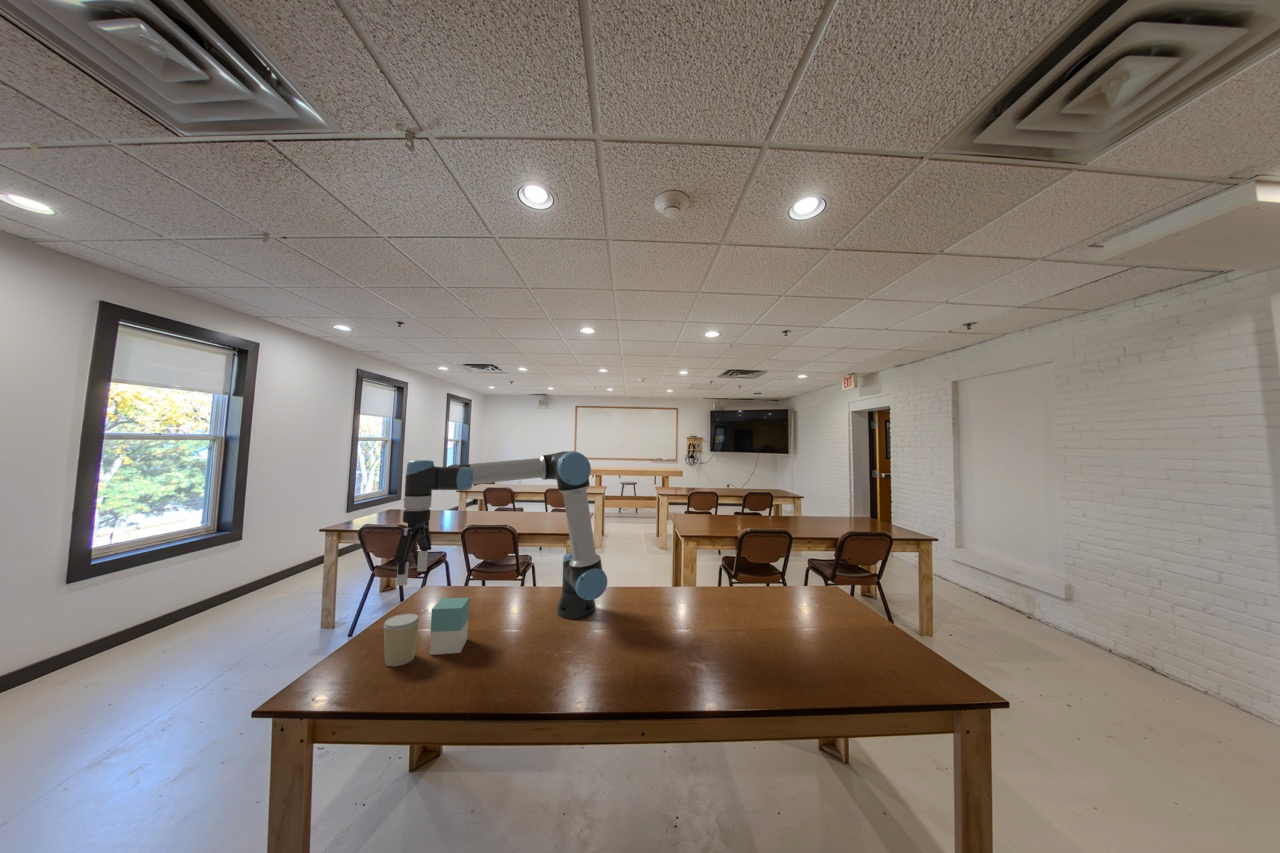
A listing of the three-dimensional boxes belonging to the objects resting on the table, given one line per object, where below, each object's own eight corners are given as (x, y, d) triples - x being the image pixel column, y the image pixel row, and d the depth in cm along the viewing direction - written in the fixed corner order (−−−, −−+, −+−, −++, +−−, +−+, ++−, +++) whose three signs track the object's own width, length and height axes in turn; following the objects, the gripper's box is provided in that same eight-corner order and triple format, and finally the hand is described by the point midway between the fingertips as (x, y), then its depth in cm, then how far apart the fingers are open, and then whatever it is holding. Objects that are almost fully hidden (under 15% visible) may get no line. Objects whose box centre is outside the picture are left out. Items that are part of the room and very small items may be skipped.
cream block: (467, 639, 134) (468, 618, 135) (460, 652, 125) (461, 630, 126) (438, 641, 133) (439, 619, 133) (429, 655, 124) (430, 632, 124)
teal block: (468, 618, 135) (469, 597, 135) (460, 630, 126) (461, 608, 126) (440, 619, 133) (441, 598, 134) (430, 632, 124) (431, 609, 125)
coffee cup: (424, 652, 125) (425, 613, 126) (403, 669, 116) (405, 627, 116) (396, 650, 126) (398, 612, 127) (373, 666, 117) (376, 625, 117)
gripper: (421, 503, 137) (417, 566, 136) (383, 515, 112) (377, 591, 111) (444, 504, 138) (440, 566, 136) (411, 515, 113) (405, 591, 112)
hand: (412, 577), depth 124 cm, fingers open, 13 cm apart
